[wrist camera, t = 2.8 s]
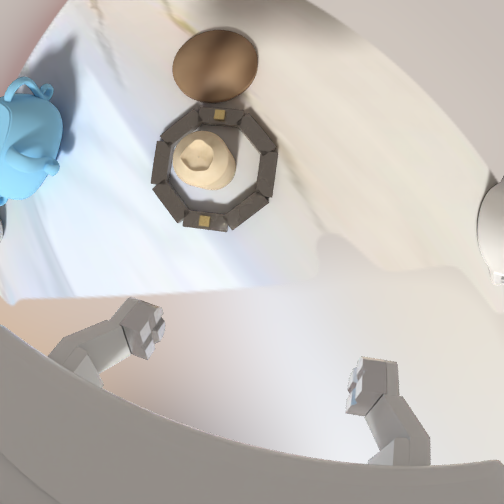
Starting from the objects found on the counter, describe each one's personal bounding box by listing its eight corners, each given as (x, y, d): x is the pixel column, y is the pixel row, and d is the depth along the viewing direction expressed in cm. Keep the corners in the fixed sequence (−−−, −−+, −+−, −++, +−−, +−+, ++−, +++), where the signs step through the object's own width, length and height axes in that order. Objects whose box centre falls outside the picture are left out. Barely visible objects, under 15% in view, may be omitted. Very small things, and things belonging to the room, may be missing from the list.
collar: (282, 117, 35) (283, 113, 33) (266, 236, 37) (266, 238, 35) (166, 108, 35) (162, 104, 33) (149, 221, 37) (144, 222, 36)
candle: (190, 188, 37) (165, 184, 27) (194, 145, 36) (171, 126, 26) (234, 191, 36) (223, 187, 27) (238, 147, 36) (229, 128, 26)
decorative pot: (76, 186, 37) (12, 183, 24) (8, 208, 38) (-50, 214, 24) (73, 86, 34) (19, 56, 21) (7, 120, 35) (-46, 107, 22)
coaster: (262, 37, 33) (262, 32, 32) (251, 106, 35) (251, 103, 33) (183, 34, 33) (181, 30, 32) (167, 101, 35) (165, 98, 34)
